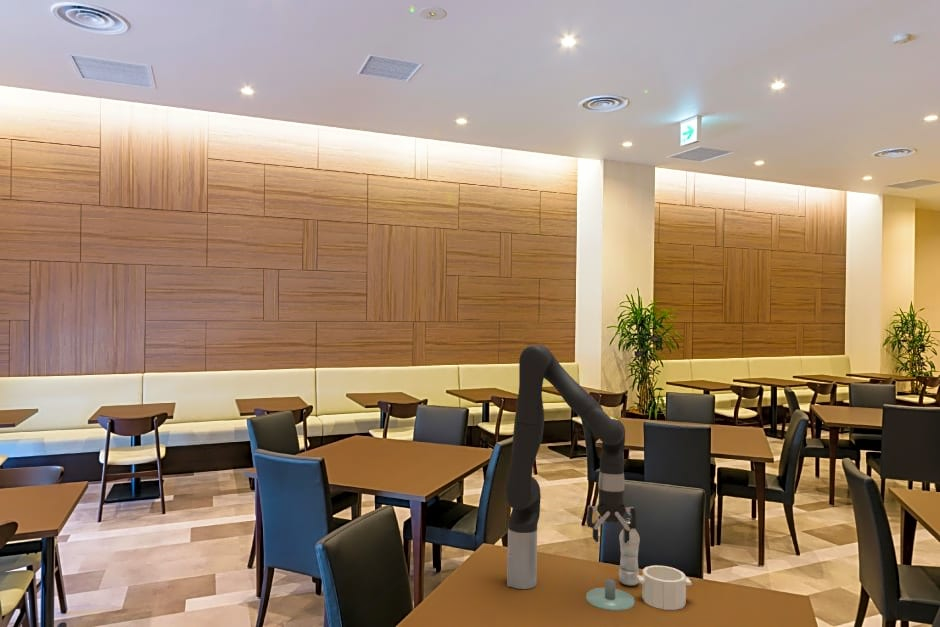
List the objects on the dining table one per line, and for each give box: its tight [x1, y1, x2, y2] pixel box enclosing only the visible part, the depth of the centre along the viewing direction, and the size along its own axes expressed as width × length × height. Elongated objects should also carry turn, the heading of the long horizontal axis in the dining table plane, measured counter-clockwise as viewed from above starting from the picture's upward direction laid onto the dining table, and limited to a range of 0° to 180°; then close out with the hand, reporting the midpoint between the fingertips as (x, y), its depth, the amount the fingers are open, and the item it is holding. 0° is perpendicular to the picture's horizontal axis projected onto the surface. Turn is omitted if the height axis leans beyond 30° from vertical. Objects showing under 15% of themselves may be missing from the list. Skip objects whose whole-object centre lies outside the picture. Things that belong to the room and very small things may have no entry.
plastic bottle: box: [618, 518, 641, 587], centre depth 193 cm, size 6×7×20 cm
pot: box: [637, 564, 693, 611], centre depth 182 cm, size 15×12×8 cm
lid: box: [585, 578, 635, 612], centre depth 182 cm, size 14×14×6 cm
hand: (610, 541), depth 182 cm, fingers open, 8 cm apart
